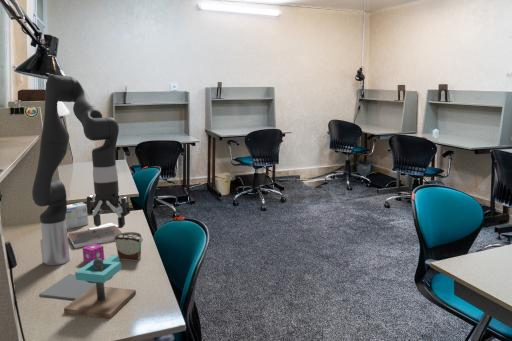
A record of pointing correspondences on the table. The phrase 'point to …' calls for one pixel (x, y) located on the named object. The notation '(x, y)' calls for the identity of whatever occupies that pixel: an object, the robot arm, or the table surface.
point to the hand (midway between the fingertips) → (109, 226)
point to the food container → (129, 245)
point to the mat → (67, 288)
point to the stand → (100, 298)
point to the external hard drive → (104, 226)
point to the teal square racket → (90, 274)
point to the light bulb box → (76, 215)
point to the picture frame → (93, 236)
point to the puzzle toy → (93, 252)
